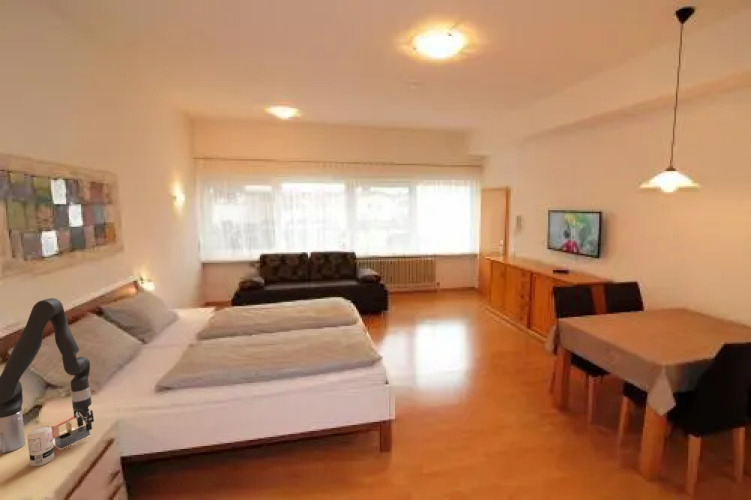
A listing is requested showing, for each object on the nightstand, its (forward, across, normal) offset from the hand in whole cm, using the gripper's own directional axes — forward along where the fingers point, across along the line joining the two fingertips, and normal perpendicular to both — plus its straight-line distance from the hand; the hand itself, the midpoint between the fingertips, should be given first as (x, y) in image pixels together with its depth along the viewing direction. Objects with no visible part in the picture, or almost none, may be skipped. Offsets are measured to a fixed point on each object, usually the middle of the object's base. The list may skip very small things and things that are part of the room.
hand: (84, 428), depth 192 cm
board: (+4, -6, -6) cm, 9 cm away
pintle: (+4, -5, -5) cm, 8 cm away
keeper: (+4, -13, -4) cm, 14 cm away
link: (+4, 0, -5) cm, 6 cm away
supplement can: (+4, +6, -20) cm, 21 cm away
